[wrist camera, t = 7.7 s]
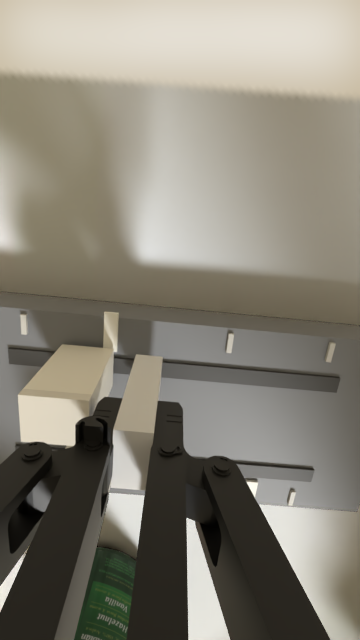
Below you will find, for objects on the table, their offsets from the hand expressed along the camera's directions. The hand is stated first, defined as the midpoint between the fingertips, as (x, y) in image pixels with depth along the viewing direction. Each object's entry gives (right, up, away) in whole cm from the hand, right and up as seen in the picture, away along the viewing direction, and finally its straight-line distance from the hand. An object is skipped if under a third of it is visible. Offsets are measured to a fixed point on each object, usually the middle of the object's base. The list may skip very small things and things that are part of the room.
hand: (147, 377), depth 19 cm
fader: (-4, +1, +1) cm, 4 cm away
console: (+1, -2, +6) cm, 6 cm away
